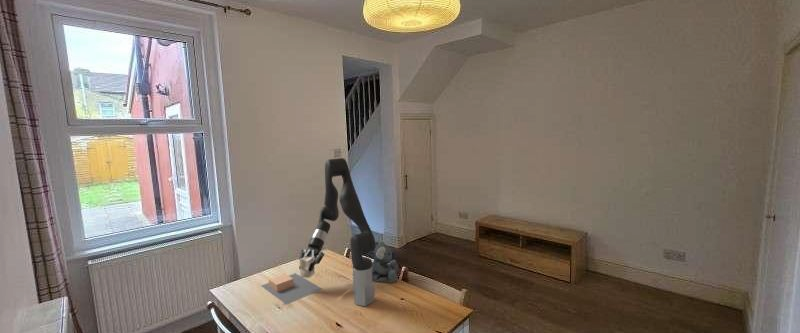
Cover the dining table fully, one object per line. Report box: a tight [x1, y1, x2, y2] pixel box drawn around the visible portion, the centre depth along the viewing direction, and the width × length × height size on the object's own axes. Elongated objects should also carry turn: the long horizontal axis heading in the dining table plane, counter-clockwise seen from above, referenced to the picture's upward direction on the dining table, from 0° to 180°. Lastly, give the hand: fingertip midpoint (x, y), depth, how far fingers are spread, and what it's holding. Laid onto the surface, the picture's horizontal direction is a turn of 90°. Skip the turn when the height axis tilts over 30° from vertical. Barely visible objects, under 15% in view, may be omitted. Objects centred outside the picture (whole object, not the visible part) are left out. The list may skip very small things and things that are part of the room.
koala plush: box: [372, 240, 399, 283], centre depth 177 cm, size 17×18×20 cm
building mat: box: [260, 273, 323, 305], centre depth 166 cm, size 28×20×1 cm
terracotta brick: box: [268, 273, 294, 292], centre depth 167 cm, size 9×9×4 cm
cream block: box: [299, 256, 316, 279], centre depth 162 cm, size 5×5×9 cm
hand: (305, 270), depth 161 cm, fingers closed on cream block, 5 cm apart
